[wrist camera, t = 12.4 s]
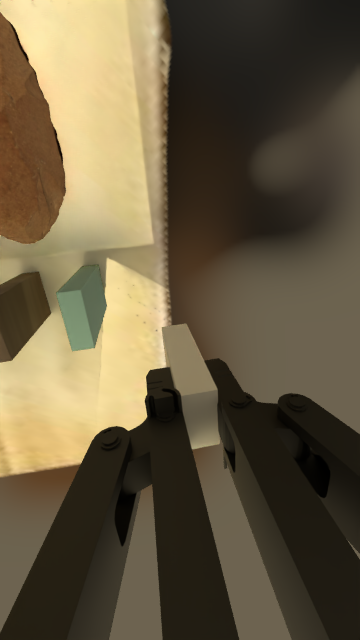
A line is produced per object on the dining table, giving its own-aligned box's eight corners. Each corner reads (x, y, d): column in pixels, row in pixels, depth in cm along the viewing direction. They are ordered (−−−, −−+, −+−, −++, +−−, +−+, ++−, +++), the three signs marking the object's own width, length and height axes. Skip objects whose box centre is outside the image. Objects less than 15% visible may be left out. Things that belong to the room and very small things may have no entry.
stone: (46, 244, 30) (62, 250, 27) (-57, 224, 23) (-52, 229, 20) (68, 61, 26) (90, 44, 23) (-50, -23, 19) (-41, -62, 16)
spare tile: (91, 307, 32) (72, 351, 22) (82, 266, 30) (55, 293, 20) (106, 305, 32) (94, 347, 22) (98, 264, 30) (80, 290, 20)
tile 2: (35, 315, 31) (-13, 364, 21) (21, 273, 29) (-38, 305, 19) (51, 313, 31) (11, 360, 21) (38, 271, 29) (-12, 301, 19)
